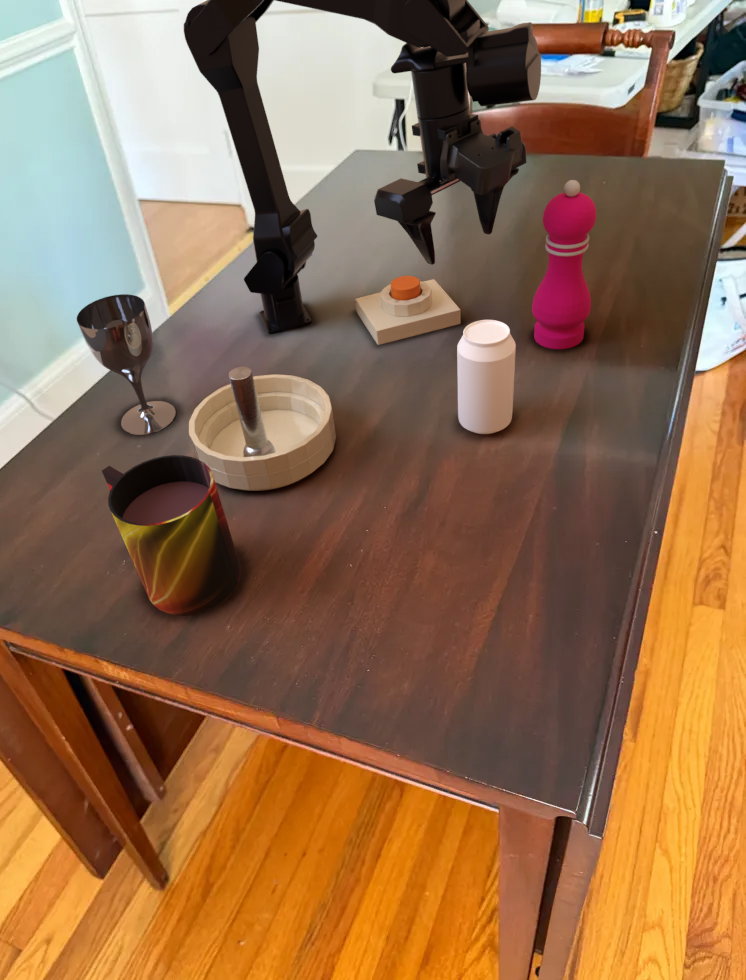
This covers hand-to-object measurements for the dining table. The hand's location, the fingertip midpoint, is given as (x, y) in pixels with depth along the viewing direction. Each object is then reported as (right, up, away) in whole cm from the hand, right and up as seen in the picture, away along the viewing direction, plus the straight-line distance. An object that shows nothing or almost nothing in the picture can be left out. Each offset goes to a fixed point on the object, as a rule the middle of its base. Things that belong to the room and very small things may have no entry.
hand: (459, 248), depth 96 cm
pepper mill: (+14, -9, +7) cm, 18 cm away
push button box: (-5, -4, +15) cm, 16 cm away
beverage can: (+2, -22, -4) cm, 23 cm away
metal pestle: (-23, -27, -7) cm, 37 cm away
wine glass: (-39, -20, +4) cm, 44 cm away
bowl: (-23, -25, -3) cm, 34 cm away
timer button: (-6, -2, +12) cm, 13 cm away
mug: (-31, -40, -16) cm, 53 cm away
